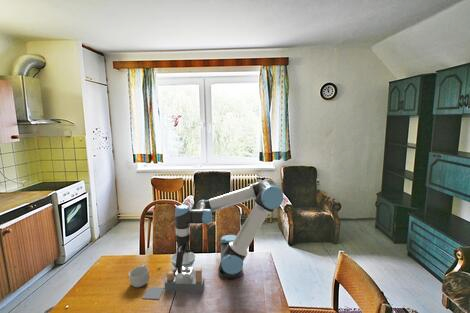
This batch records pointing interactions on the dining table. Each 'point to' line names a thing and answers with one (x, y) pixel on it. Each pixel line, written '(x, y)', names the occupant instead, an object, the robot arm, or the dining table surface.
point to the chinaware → (191, 260)
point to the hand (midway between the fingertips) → (183, 270)
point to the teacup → (139, 276)
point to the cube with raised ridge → (185, 276)
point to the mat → (153, 293)
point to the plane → (195, 285)
